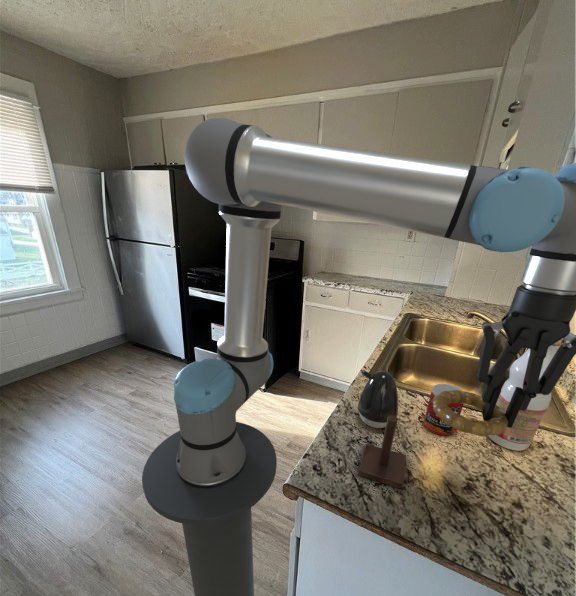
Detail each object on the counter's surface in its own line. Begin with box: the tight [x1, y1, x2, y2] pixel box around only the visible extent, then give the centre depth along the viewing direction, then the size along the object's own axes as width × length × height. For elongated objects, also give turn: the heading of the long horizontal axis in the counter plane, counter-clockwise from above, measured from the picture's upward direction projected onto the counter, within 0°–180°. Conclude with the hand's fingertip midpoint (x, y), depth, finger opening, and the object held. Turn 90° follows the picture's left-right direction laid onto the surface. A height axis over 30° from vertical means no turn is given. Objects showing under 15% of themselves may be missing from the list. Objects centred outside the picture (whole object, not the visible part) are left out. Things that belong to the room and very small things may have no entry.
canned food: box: [423, 383, 464, 436], centre depth 81 cm, size 8×8×11 cm
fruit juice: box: [487, 339, 563, 452], centre depth 74 cm, size 9×9×28 cm
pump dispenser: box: [357, 369, 399, 429], centre depth 81 cm, size 10×10×15 cm
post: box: [358, 415, 407, 490], centre depth 67 cm, size 9×9×14 cm
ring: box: [433, 389, 508, 437], centre depth 56 cm, size 12×12×2 cm
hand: (496, 419), depth 55 cm, fingers closed on ring, 3 cm apart
